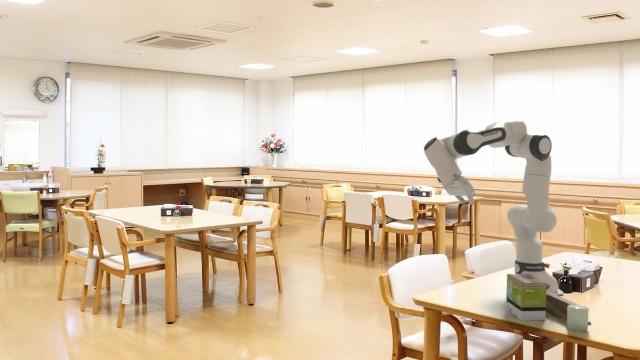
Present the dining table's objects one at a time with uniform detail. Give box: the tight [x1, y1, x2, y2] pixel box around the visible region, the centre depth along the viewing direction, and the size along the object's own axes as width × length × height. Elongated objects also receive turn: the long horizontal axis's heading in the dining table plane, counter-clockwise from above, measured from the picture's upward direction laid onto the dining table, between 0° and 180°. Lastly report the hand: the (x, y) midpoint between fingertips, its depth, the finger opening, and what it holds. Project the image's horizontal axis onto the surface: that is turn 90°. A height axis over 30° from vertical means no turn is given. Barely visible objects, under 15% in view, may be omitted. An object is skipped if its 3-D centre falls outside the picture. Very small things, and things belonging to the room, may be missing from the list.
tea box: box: [505, 273, 547, 321], centre depth 227 cm, size 15×10×15 cm, turn 5°
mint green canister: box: [566, 304, 590, 333], centre depth 211 cm, size 7×7×8 cm
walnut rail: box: [546, 291, 592, 325], centre depth 228 cm, size 7×24×7 cm, turn 13°
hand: (468, 203), depth 238 cm, fingers open, 8 cm apart
